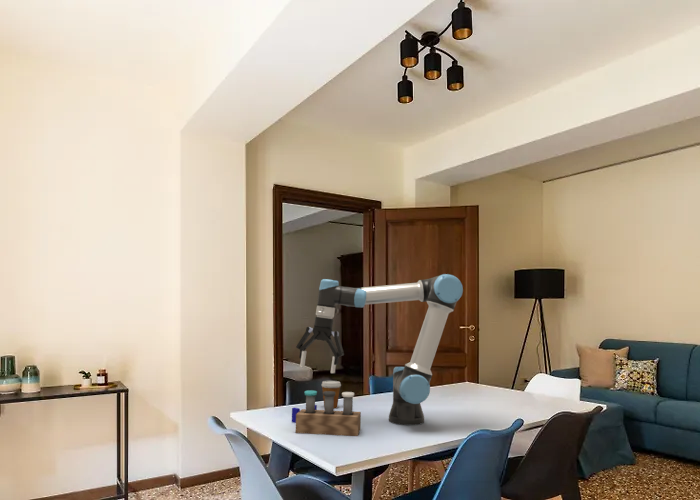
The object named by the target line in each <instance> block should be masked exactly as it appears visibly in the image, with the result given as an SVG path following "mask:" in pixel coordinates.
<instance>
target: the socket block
mask: <svg viewBox="0 0 700 500" xmlns="http://www.w3.org/2000/svg"><path fill="white" fill-rule="evenodd" d="M361 412H362V411H353V410H352V415H343V410H334V413H333V414H324V409H317V410H315V414H313V413H306V408H303V409H300V411H299V412H298V413H297V414H296V423H295V434H308V435H309V434H311V435H329V436H331V435H332V436H346V437H347V436H349V437H359V433H360V432H361V429H362V427H361V423H362V422H361V420H362V417H361V416H362V414H361Z"/></svg>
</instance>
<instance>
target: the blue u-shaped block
mask: <svg viewBox="0 0 700 500" xmlns="http://www.w3.org/2000/svg"><path fill="white" fill-rule="evenodd" d="M300 410H301V409H300V408H298V407H292V408H291V423H293V424H296V414H297V413H298V412H299V411H300ZM315 410H318V406H317V404H315Z"/></svg>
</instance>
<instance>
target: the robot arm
mask: <svg viewBox="0 0 700 500" xmlns="http://www.w3.org/2000/svg"><path fill="white" fill-rule="evenodd" d="M463 287H464V286H463V284H462V282H461V280H460V279H459V278H458V277H456V276H455V275H453V274H449V273H447V274H446V273H443V274H440V275H437V276H436V275H435V276H434V277H431V278H427V279H419V280H418V281H417V282H411V283H410V282H409V283H397V284H387V285H376V286H366V287H365V286H363V287H350V286H342V285H341V286H340V285H339V280H333V279H329V278H327V279H326V278H323V279H321V280H320V284H319V290H318V296H317V304H316V308H315V309H316V311H315V317H314V323H313V327H310V326H307V327H306V328H305V332H304V334H303V335H302V337H301V338H300V340H299V341H298V343H297V344H296V349H298V350H299V359H300V364H299V368H305V365H306V359H307V358H306V357H307V350H306V349H308V348H309V347H310V346H311V345H312V344H313V343H314V342H315V341H316V340H318V341H323V342H326V343H327V344H328V346H329V349H331V352H332V354H333V355H334V356H332V361H331V368H330V374H336V367H337V365H338V366H339V360H340V357H342V356H344V355H345V353H344V349H343V345H342V342H341V339H340V332H339V331H337V330H336V331H333V325H334V319H333V318H334V317H335V312H336V305H341V306H346V307H355V308H364V307H365V305H375V304H386V303H398V302H412V301H420V302H422V303H423V302H424V303H425V302H426V303H427V305H428V308H427V311H426V314H425V317H424V320H423V322H422V325H421V329H420V331H419V335H418V337H417V340H416V343H415V345H414V349H413V353H412V355H411V359H410V362H408V363H405V364H404V366H395V367H394V368H393V372H392V376H393V378H392V393H393V394H392V404H391V408H390V412H389V413H388V422H390V423H392V424H396V425H401V426H416V425H417V426H418V425H422V424H424V423H425V415H424V412H423V409H422V405H421V403H423V402H425V401H426V400H427V398H429V395H430V394H431V393H430V392H431V385H430V383H431V380H432V376H433V372H432V370H431V368H432V365H433V362H434V359H435V356H436V353H437V349H438V346H439V345H440V342H441V338H442V336H443V332H444V329H445V327H446V326H445V325H446V323H447V319H448V317H449V314H450V313H453V312H454V310H455V307H456V305H457V302H458V301H459V300H460V298H461V297H462V296H463V292H464V289H463ZM311 333H313V335H312V336H311V337H310V338H309V336H310V334H311ZM332 336H333V338H334V341H335V343H334V342H333V339H332ZM308 338H309V339H308ZM307 339H308V340H307ZM306 340H307V341H306Z"/></svg>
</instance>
